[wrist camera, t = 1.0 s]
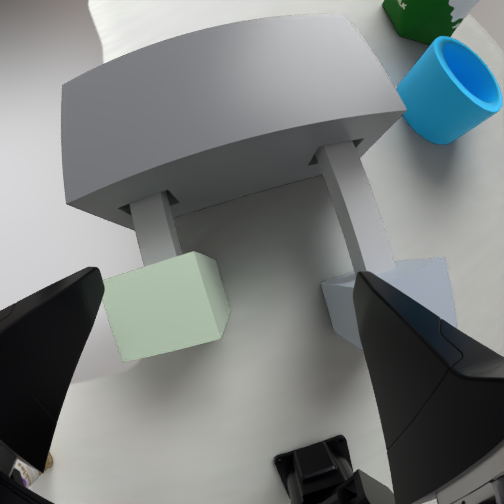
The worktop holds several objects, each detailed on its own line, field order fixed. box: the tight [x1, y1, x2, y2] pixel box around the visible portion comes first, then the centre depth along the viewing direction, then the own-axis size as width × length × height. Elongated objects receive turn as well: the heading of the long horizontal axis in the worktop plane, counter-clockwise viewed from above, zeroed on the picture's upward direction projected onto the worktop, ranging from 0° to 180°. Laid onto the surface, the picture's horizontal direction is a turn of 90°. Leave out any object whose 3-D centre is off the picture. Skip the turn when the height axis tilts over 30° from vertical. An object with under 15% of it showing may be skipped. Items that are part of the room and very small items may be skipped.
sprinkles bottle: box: [14, 453, 52, 488], centre depth 13 cm, size 5×5×14 cm
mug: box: [397, 36, 502, 145], centre depth 19 cm, size 12×8×8 cm
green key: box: [102, 190, 231, 362], centre depth 17 cm, size 14×5×9 cm, turn 17°
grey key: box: [315, 140, 458, 350], centre depth 17 cm, size 16×5×9 cm, turn 17°
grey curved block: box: [61, 13, 407, 231], centre depth 17 cm, size 8×18×10 cm, turn 107°
